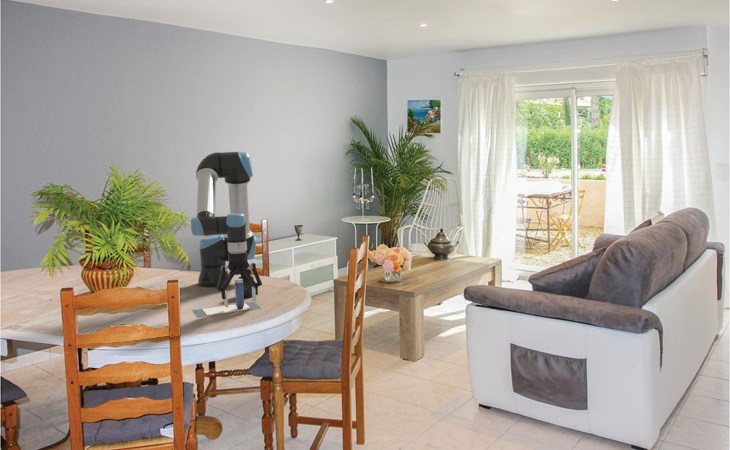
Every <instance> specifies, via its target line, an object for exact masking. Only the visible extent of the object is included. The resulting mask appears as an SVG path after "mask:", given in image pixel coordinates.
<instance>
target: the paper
mask: <svg viewBox="0 0 730 450" xmlns="http://www.w3.org/2000/svg"><path fill="white" fill-rule="evenodd" d="M246 303H247V302H244V306H243V309H237V307H236V303H235V305H234V304H228V308H226V307H225V305H222V306H221V307H219V306H214V307H213V306H212V307H213V308H212V307H207V308H206V307H205V308H206V309H205V308H201V309H202V310H203V311H204V312H205V313H206V315H213V316H215V315H214V314H220V315H222V314H221V313H227V314H229V313H228V312H234V313H236V312H235V311H241V312H243V311H242V310H248V311H250V310H249V309H251V308H250V307H249V306H248V305H247V304H246Z"/></svg>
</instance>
